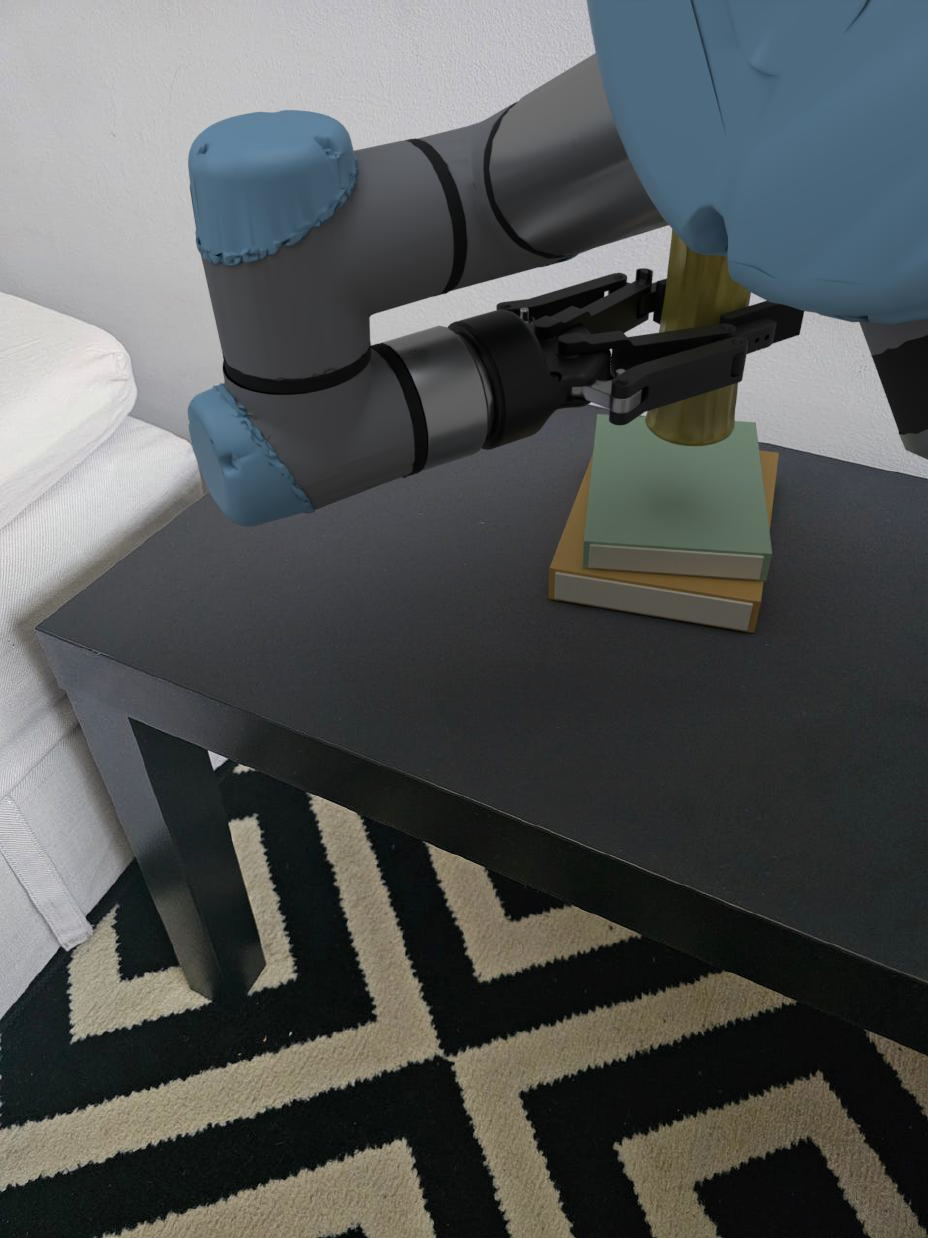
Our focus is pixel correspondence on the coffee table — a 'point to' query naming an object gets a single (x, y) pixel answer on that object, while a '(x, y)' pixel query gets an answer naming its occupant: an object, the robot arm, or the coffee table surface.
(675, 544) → the book stack
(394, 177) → the robot arm
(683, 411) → the vase
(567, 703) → the coffee table surface
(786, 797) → the coffee table surface
